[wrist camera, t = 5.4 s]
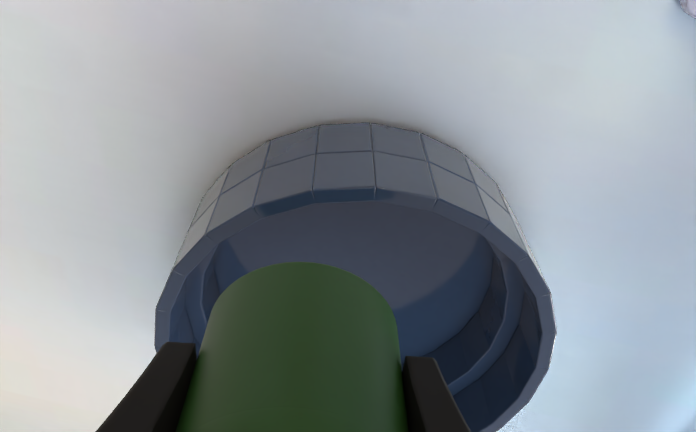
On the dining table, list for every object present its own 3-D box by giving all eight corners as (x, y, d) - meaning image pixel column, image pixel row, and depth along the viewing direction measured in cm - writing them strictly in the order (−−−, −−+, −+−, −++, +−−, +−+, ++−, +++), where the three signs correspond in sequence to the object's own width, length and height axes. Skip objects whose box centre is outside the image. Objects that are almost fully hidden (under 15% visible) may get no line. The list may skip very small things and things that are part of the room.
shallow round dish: (265, 50, 18) (240, 108, 14) (587, 208, 22) (644, 292, 17) (149, 320, 25) (109, 413, 21) (410, 408, 28) (421, 505, 24)
